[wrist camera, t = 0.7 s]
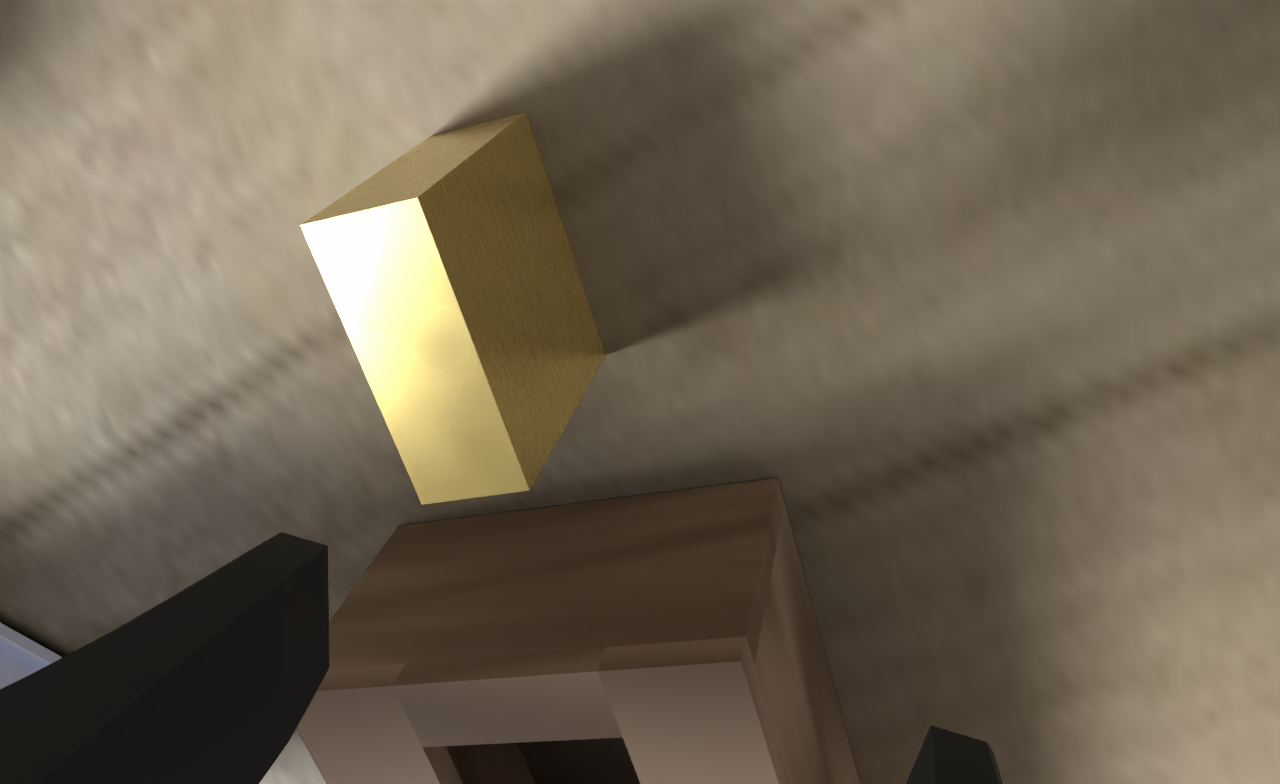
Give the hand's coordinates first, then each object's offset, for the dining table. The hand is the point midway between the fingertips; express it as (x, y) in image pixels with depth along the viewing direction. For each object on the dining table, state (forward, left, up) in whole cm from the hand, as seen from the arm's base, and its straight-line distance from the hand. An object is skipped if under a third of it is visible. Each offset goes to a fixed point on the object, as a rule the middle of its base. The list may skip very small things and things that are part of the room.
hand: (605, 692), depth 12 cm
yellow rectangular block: (-4, -1, -10) cm, 11 cm away
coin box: (+3, -9, -10) cm, 14 cm away
